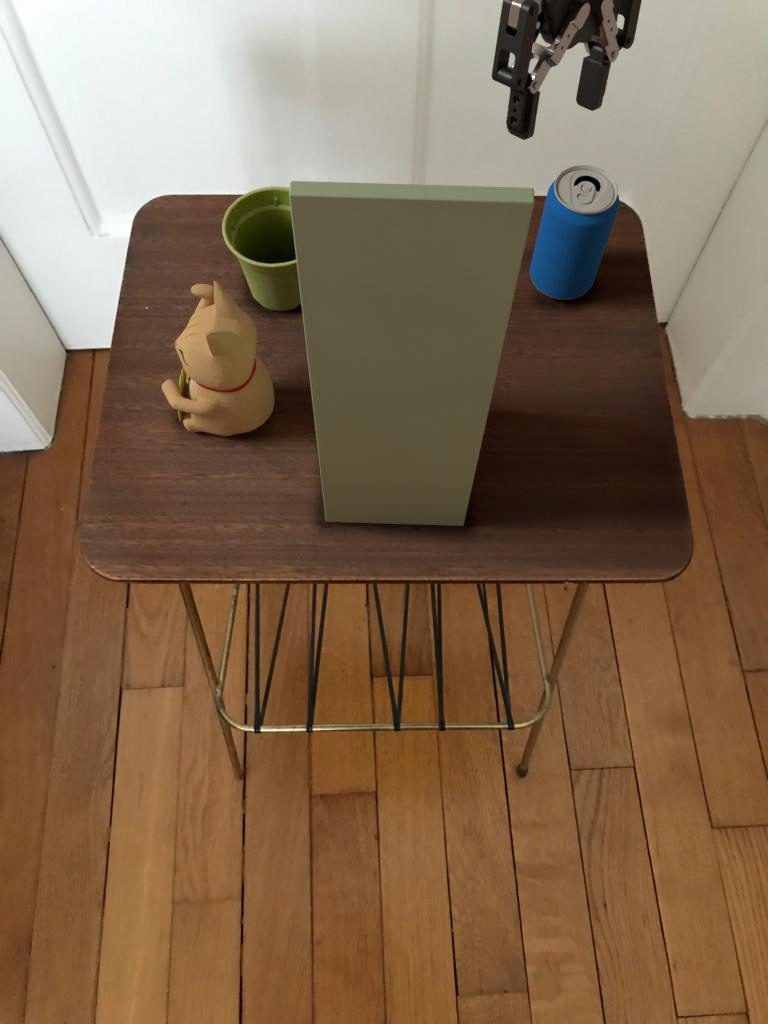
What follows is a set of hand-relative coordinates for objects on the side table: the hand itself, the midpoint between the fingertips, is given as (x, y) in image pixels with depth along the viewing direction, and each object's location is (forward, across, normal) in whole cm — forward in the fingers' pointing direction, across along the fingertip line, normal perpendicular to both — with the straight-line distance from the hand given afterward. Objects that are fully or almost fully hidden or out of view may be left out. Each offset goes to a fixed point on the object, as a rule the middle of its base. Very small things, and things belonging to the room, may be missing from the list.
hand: (554, 120), depth 73 cm
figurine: (+23, -27, +12) cm, 38 cm away
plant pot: (+19, -15, +18) cm, 30 cm away
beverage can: (+18, +6, +1) cm, 19 cm away
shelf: (+24, -20, -4) cm, 32 cm away
